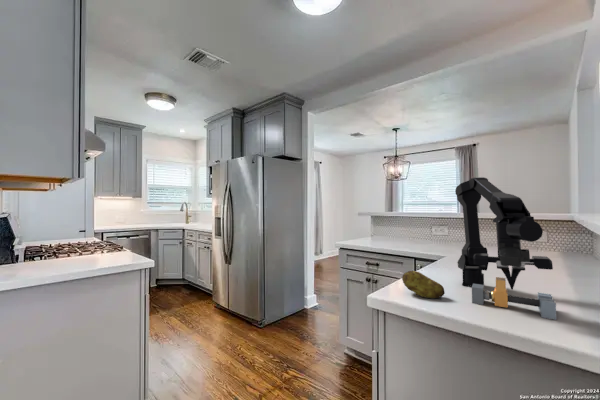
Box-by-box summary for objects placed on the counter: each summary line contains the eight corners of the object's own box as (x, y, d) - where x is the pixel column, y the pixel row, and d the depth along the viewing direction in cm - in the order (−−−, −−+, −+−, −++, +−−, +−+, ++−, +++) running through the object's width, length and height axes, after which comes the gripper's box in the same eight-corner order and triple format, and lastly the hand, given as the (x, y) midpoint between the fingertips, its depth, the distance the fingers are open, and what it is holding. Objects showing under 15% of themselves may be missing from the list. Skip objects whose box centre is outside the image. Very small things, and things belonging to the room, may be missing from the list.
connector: (472, 302, 87) (471, 287, 87) (473, 298, 91) (473, 283, 91) (489, 305, 85) (488, 289, 85) (489, 301, 89) (489, 285, 89)
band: (491, 302, 85) (491, 291, 85) (491, 299, 88) (491, 289, 88) (494, 303, 84) (494, 292, 85) (494, 300, 87) (494, 289, 87)
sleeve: (494, 305, 84) (494, 279, 84) (495, 301, 88) (494, 276, 88) (507, 307, 82) (507, 281, 82) (507, 303, 86) (506, 278, 86)
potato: (435, 303, 87) (435, 278, 87) (398, 293, 97) (398, 271, 97) (447, 297, 92) (446, 274, 92) (411, 289, 102) (411, 267, 102)
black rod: (481, 298, 87) (481, 292, 87) (481, 296, 89) (481, 290, 89) (539, 307, 79) (539, 300, 79) (539, 305, 80) (538, 298, 80)
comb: (541, 317, 76) (541, 300, 76) (537, 307, 83) (537, 292, 83) (556, 319, 74) (555, 303, 74) (551, 309, 81) (550, 294, 82)
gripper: (470, 239, 83) (474, 292, 82) (553, 241, 72) (558, 302, 71) (473, 236, 92) (476, 283, 91) (547, 237, 81) (551, 290, 81)
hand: (511, 289), depth 83 cm, fingers closed
